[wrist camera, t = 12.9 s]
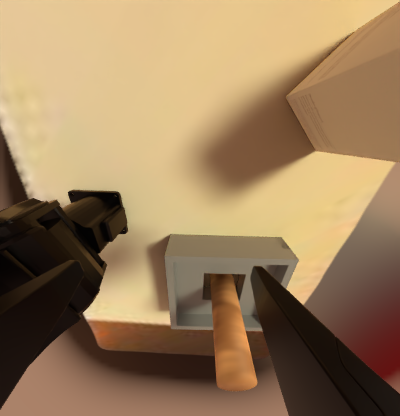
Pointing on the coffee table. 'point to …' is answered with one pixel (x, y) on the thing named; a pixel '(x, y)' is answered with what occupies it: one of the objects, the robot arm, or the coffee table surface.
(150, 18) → the coffee table surface
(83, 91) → the coffee table surface
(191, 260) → the socket box
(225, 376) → the orange peg
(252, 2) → the coffee table surface
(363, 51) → the supplement box
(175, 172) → the coffee table surface
